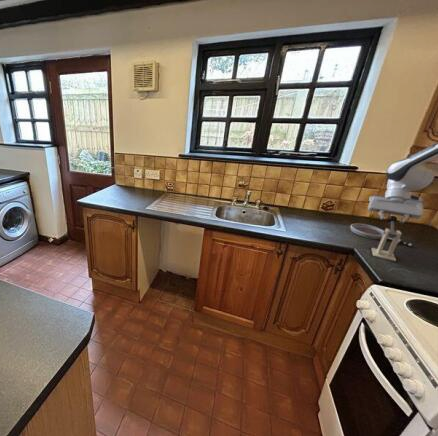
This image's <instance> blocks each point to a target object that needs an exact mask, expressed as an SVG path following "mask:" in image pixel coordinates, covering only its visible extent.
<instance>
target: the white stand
mask: <svg viewBox="0 0 438 436" xmlns="http://www.w3.org/2000/svg"><path fill="white" fill-rule="evenodd" d="M383 231H384V233H383V236H382V239H380V241H379V243H378V245H377V248H376V247H371V254H372V256H373V257H376V258H380V259H384V260H389V261H392V262H397V259H396V256H395V254H394V253H395V252H394V251H395V249H396V248H397V245H398V244H399V243H398V241H399V239H400V240H401V237H402V232H401V231H400V230H398V229H396V230H395V231H396V236H395V238H392V239H393V240H391V243H390V245H389V248H388V250H383V249H384V247H385V244H386V243H387V240H388V239H387V238H388V235H389V233H390V228H387V227H386V228H385V229H384V230H383Z"/></svg>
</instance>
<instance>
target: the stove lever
mask: <svg viewBox="0 0 438 436" xmlns="http://www.w3.org/2000/svg"><path fill="white" fill-rule="evenodd" d="M386 219H387V222H388V223H389V225H390V226H389V230H390V233H389V235H388V237H389V238H392V239H393V238H395V236H396V231H397V230H395V223H397V222H398V217H396V215H389V216H388V217H387V218H386Z"/></svg>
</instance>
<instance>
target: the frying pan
mask: <svg viewBox="0 0 438 436" xmlns="http://www.w3.org/2000/svg"><path fill="white" fill-rule="evenodd" d="M350 231H351V232H352V233H354V234H355V235H357V236H361V237H364V238H367V239H372V240H381V239H382V236H383V233H384V231H385V230H383V229H382V228H379V227H377V226H373V225H371V224H365V223H352V224H351V225H350ZM387 240H390V241H393V238H390V237H388V238H387ZM399 243H401V244H403V245H407V246H408V247H412V246H413V244H412V242H411V243H409V242H405V241H402V239H401V238H400V239H399V241H398V243H397V244H399Z"/></svg>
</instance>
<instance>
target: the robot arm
mask: <svg viewBox="0 0 438 436" xmlns="http://www.w3.org/2000/svg"><path fill="white" fill-rule="evenodd" d="M436 158H438V142H435V143H433V144H431V145H430V146H429V145H428V147H425V148H424V149H421V150H420V151H417V152H416V153H414V154H412V155H409V156H408V157H405V158H403V159H401V160H398V161H396V162H395V161H394V162H393V163H392V164H390V165H389V166H388V167H387V169H386V177H387V181H386V190H385V193H384V195H377V194H376V195H370V196H369V199H368V201H369V203H368V206H367V210H368V211H369V212H373V213H374V212H375V213H378V216H379V217H380V220H381V221H385V220H386V217H387V216H386V215H384V214H388V215H391V216H399V217H402V218H400V219H399V221H398V223H400V224H405V221H406V220H407V219H408V218H412V219H416V220H417V219H419V218H422V216H424V204H423V203H422V201H423V198H422V197H421V196H418V195H415V194H412V193H410V192H417V191H421V190H424V189H427V188H429V187H431V185H432V184H433V183H434V181H435V179H436V177H435V173H433V172H432V171H429V170H427V169H425V168H424V167H423V168H422V167H420V166H421V165H422V164H424V163H425V164H426V163H427V162H429V161H431V160H434V159H436Z"/></svg>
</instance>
